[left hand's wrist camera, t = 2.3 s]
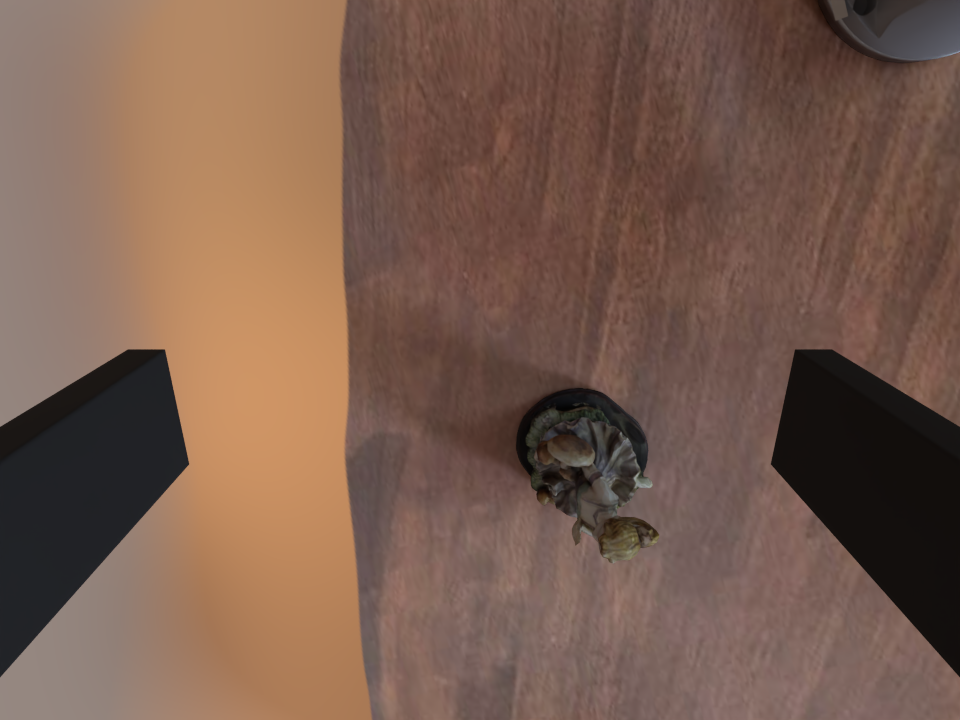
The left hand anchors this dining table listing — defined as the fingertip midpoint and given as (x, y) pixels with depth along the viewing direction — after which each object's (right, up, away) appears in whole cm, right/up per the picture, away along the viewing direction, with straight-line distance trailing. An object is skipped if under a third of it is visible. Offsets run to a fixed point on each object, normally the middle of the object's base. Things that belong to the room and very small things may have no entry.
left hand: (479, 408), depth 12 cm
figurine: (+9, -7, +38) cm, 40 cm away
